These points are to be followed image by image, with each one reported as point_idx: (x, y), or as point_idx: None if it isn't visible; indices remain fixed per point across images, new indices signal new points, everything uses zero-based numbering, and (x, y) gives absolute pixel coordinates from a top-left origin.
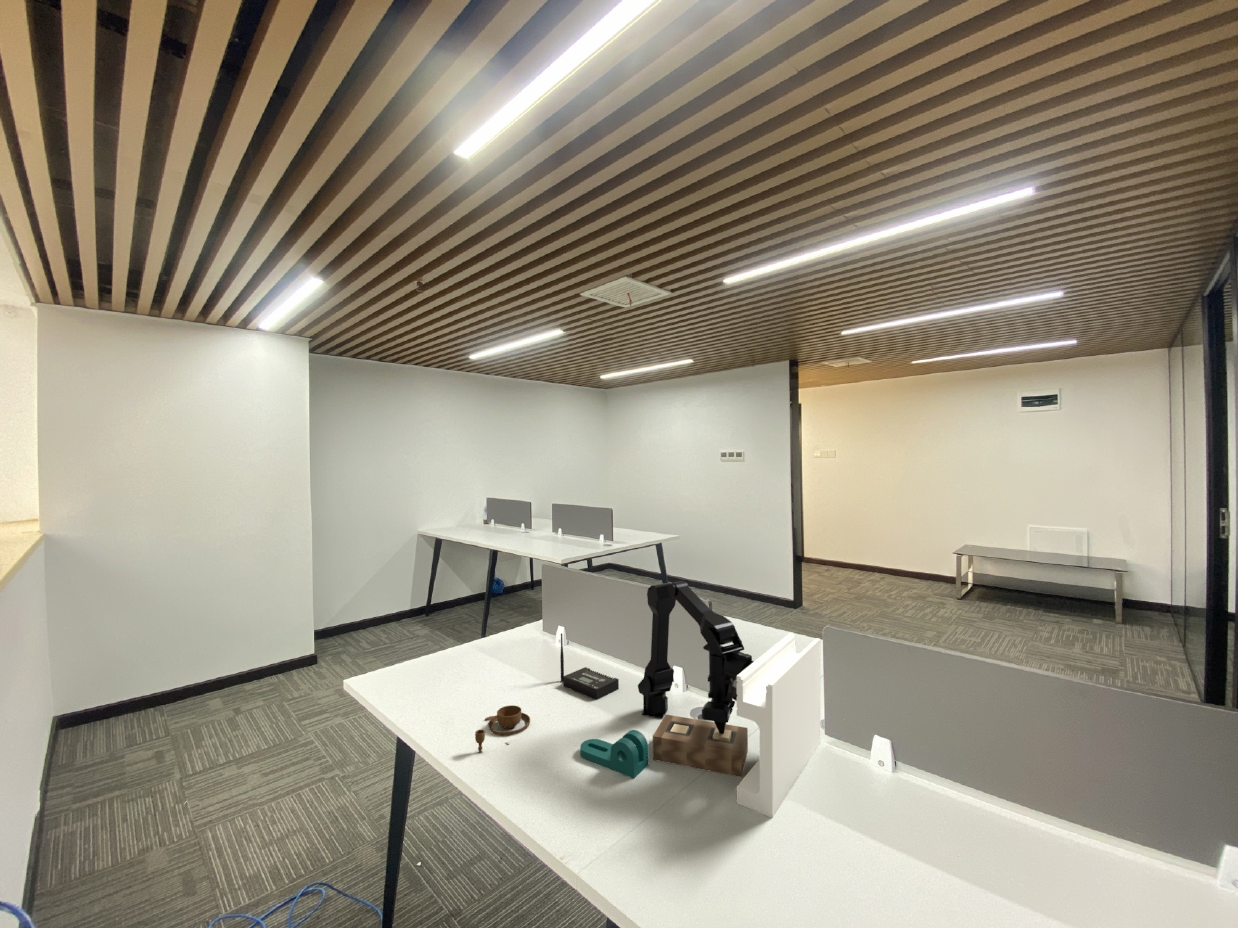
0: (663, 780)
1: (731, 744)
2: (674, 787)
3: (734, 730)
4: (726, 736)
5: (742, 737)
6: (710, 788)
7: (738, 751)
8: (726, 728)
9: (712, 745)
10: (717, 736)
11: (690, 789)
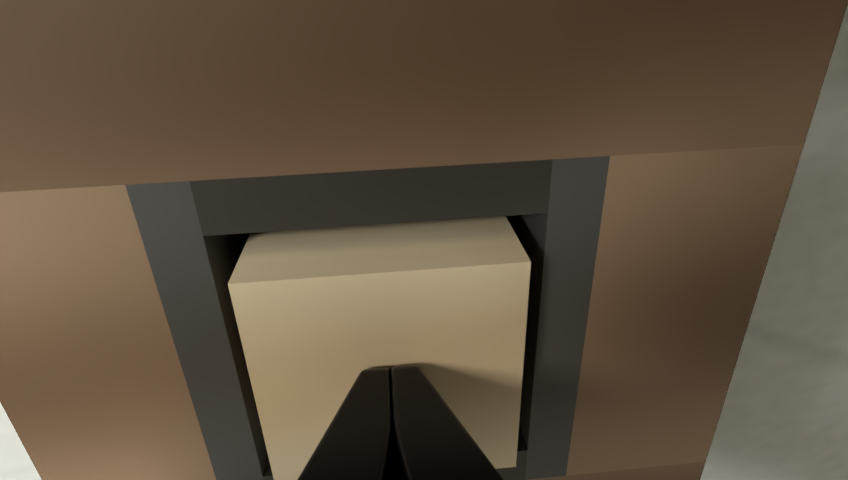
0: (752, 465)
1: (622, 177)
2: (820, 399)
3: (113, 231)
4: (481, 307)
5: (302, 31)
6: (827, 198)
7: (840, 11)
8: (130, 357)
9: (695, 395)
10: (516, 412)
11: (840, 316)
